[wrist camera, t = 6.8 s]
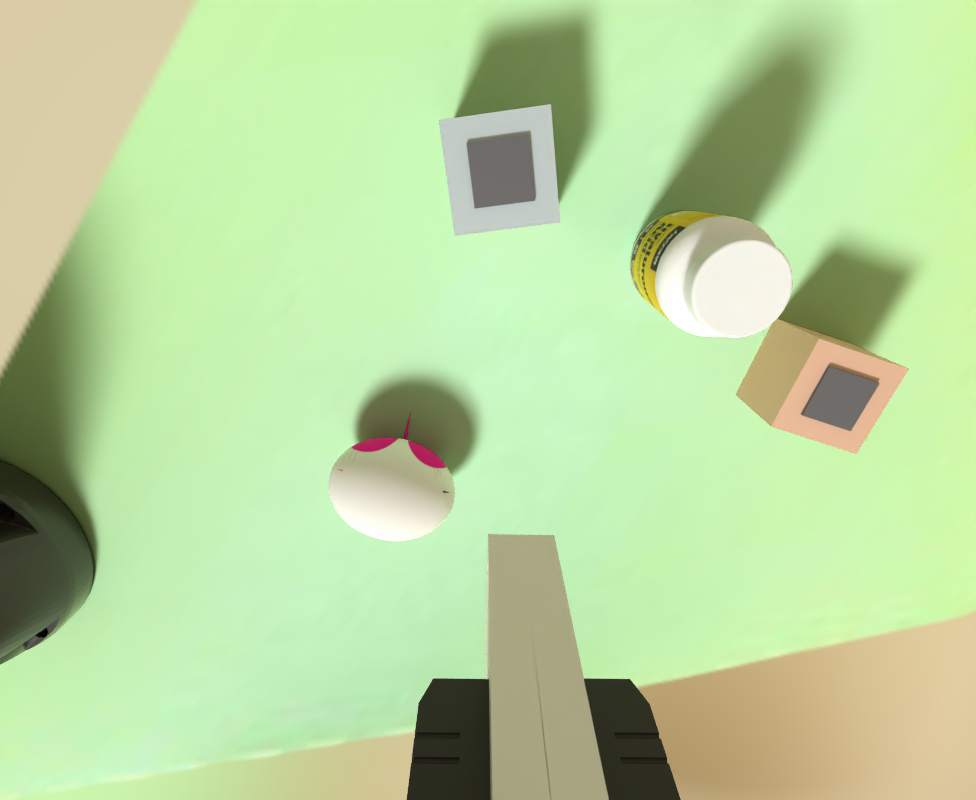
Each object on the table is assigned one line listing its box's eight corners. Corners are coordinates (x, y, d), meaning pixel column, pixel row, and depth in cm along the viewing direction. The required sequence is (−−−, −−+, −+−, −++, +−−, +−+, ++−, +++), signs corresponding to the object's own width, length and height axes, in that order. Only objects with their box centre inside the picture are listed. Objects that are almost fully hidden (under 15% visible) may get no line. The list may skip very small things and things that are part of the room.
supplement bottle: (638, 203, 31) (695, 209, 22) (736, 216, 31) (834, 228, 22) (617, 301, 33) (661, 345, 23) (710, 314, 33) (790, 362, 24)
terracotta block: (735, 394, 34) (772, 428, 30) (774, 317, 33) (821, 339, 28) (809, 418, 35) (858, 455, 30) (851, 343, 33) (911, 370, 28)
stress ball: (463, 433, 39) (476, 415, 33) (438, 549, 37) (446, 554, 31) (356, 409, 39) (347, 385, 32) (324, 526, 37) (308, 525, 30)
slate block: (462, 228, 32) (454, 235, 27) (449, 131, 30) (438, 119, 25) (552, 217, 31) (560, 222, 26) (543, 117, 29) (551, 103, 25)
